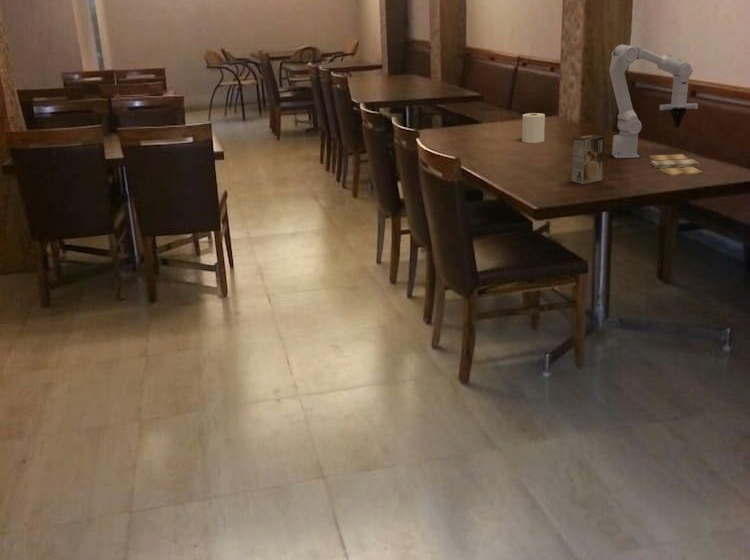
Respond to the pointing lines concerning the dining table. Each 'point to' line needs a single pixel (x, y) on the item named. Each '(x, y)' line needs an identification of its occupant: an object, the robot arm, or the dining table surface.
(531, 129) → the toilet paper
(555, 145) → the dining table surface
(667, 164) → the floor board
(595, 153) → the coffee box
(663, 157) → the board
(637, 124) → the robot arm
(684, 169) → the plank
